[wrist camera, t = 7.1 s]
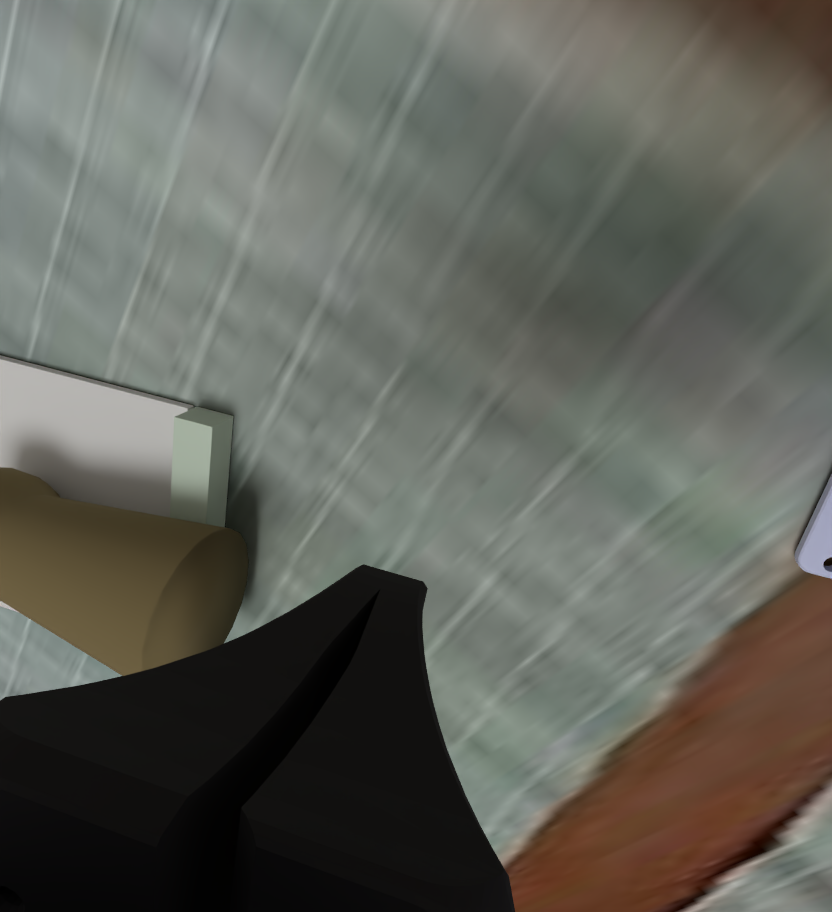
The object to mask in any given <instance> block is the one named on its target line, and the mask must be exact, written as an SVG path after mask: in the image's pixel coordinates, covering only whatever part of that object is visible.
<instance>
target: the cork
mask: <svg viewBox="0 0 832 912" xmlns="http://www.w3.org/2000/svg"><path fill="white" fill-rule="evenodd" d="M248 564H249V559H248V552H247V545H246V543H245V541H244V539H243V538H242V536H241V534H240V533H239V532H237V531H234V530H232V529H229V528H225V527H220V526H214V525H209V524H203V523H198V522H192V521H186V520H181V519H175V518H170V517H164V516H159V515H153V514H148V513H142V512H137V511H131V510H126V509H120V508H115V507H109V506H104V505H98V504H93V503H87V502H81V501H76V500H70V499H65V498H60V496H59V494H58V493H57V492H56V491H55V490H54V489H53V488H52V487H51V486H50V485H49V484H47V483H46V482H45V481H43V480H42V479H41V478H39V477H36V476H34V475H31V474H28V473H25V472H22V471H20V470H17V469H14V468H6V467H0V601H2V602H3V603H5V604H7V605H8V606H10V607H12V608H13V609H15V610H16V611H18V612H20V613H21V614H23V615H25V616H26V617H28V618H29V619H31V620H33V621H34V622H36V623H38V624H39V625H41V626H42V627H44V628H46V629H47V630H49V631H51V632H52V633H54V634H56V635H57V636H59V637H60V638H62V639H64V640H65V641H67V642H69V643H70V644H72V645H73V646H75V647H77V648H78V649H80V650H82V651H83V652H85V653H86V654H88V655H90V656H91V657H93V658H95V659H96V660H98V661H99V662H101V663H103V664H104V665H106V666H108V667H109V668H111V669H112V670H114V671H116V672H117V673H119V674H121V675H122V676H125V675H129V674H133V673H137V672H140V671H144V670H148V669H152V668H155V667H159V666H162V665H165V664H168V663H171V662H174V661H177V660H180V659H183V658H186V657H189V656H192V655H195V654H198V653H201V652H204V651H207V650H209V649H212V648H215V647H217V646H219V645H222V644H224V642H225V640H226V638H227V636H228V634H229V632H230V630H231V629H232V627H233V624H234V621H235V619H236V616H237V614H238V611H239V609H240V606H241V604H242V600H243V596H244V591H245V587H246V583H247V576H248Z"/></svg>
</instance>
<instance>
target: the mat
mask: <svg viewBox="0 0 832 912" xmlns="http://www.w3.org/2000/svg"><path fill="white" fill-rule="evenodd" d="M193 408H194V406H193V405H189V404H185V403H181V402H178V401H174V400H170V399H166V398H162V397H158V396H155V395H151V394H147V393H143V392H139V391H135V390H132V389H128V388H124V387H120V386H116V385H112V384H109V383H105V382H101V381H97V380H93V379H89V378H86V377H82V376H78V375H74V374H70V373H66V372H63V371H59V370H55V369H51V368H47V367H43V366H40V365H36V364H32V363H28V362H24V361H20V360H17V359H13V358H9V357H5V356H1V355H0V467H6V468H14V469H17V470H20V471H22V472H25V473H28V474H31V475H34V476H36V477H39V478H41V479H42V480H43V481H45V482H46V483H47V484H49V485H50V486H51V487H52V488H53V489H54V490H55V491H56V492H57V493H58V494H59V496H60V498H65V499H70V500H76V501H81V502H87V503H93V504H98V505H104V506H109V507H115V508H120V509H126V510H131V511H137V512H142V513H148V514H153V515H159V516H164V517H170V502H171V479H172V456H173V433H174V417H175V416H177V415H180V414H182V413H184V412H186V411H189V410H191V409H193ZM0 606H2V607H5V608H8V609H11V610H14V611H16V610H15V609H13V608H12V607H10V606H8V605H7V604H5V603H3V602H2V601H0ZM17 612H18V611H17Z"/></svg>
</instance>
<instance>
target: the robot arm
mask: <svg viewBox="0 0 832 912" xmlns="http://www.w3.org/2000/svg"><path fill="white" fill-rule="evenodd" d="M830 557H832V474H831V477H830V479H829V481H828V483H827V485H826V487H825V489H824V492H823V494H822V496H821V498H820V500H819V502H818V504H817V506H816V509H815V511H814V513H813V515H812V517H811V519H810V521H809V523H808V526H807V528H806V530H805V532H804V534H803V536H802V538H801V541H800V543H799V545H798V547H797V549H796V552H795V560H796V562H797V564H798V565H799V566H800V567H801V568H802V570H804V571H806V572H808V573H811V574H815V575H819V576H823V577H827V578H830V579H832V565H830V566H824V565H823V564H824V561H825V560H826V559H828V558H830ZM426 593H427V587H426V585H425V584H424V582H423V581H419V580H416V579H412V578H409V577H405V576H402V575H398V574H395V573H391V572H388V571H384V570H381V569H377V568H374V567H370V566H367V565H361V566H359V567H357V568H356V569H354V570H353V571H351V572H350V573H348V574H347V575H345V576H344V577H343V578H341V579H340V580H338V581H337V582H335V583H334V584H332V585H331V586H329V587H328V588H326V589H325V590H323V591H322V592H320V593H319V594H317V595H315V596H314V597H312V598H310V599H309V600H307V601H306V602H304V603H302V604H301V605H299V606H297V607H296V608H294V609H292V610H291V611H289V612H287V613H285V614H284V615H282V616H280V617H278V618H276V619H274V620H272V621H271V622H269V623H267V624H265V625H263V626H261V627H259V628H258V629H256V630H254V631H251V632H249V633H247V634H245V635H243V636H241V637H239V638H236V639H234V640H232V641H229V642H227V643H224V644H222V645H219V646H217V647H215V648H212V649H209V650H207V651H204V652H201V653H198V654H195V655H192V656H189V657H186V658H183V659H180V660H177V661H174V662H171V663H168V664H165V665H162V666H159V667H155V668H152V669H148V670H144V671H140V672H137V673H133V674H129V675H125V676H121V677H117V678H112V679H108V680H103V681H99V682H94V683H89V684H84V685H80V686H74V687H68V688H62V689H55V690H49V691H43V692H37V693H31V694H25V695H18V696H10V697H5V698H3V699H2V700H1V701H0V912H515V909H514V903H513V897H512V892H511V886H510V881H509V876H508V874H507V873H506V871H505V869H504V868H503V866H502V864H501V862H500V861H499V859H498V857H497V856H496V854H495V852H494V850H493V849H492V847H491V845H490V843H489V841H488V839H487V837H486V836H485V834H484V832H483V830H482V828H481V826H480V824H479V822H478V820H477V818H476V816H475V814H474V812H473V810H472V808H471V806H470V804H469V802H468V799H467V797H466V795H465V793H464V790H463V788H462V785H461V783H460V781H459V778H458V776H457V773H456V771H455V768H454V766H453V763H452V761H451V758H450V756H449V753H448V751H447V748H446V745H445V742H444V738H443V735H442V732H441V729H440V726H439V722H438V719H437V715H436V712H435V708H434V704H433V700H432V695H431V691H430V686H429V680H428V675H427V669H426V662H425V655H424V644H423V631H422V613H423V606H424V602H425V597H426Z"/></svg>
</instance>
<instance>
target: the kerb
mask: <svg viewBox="0 0 832 912" xmlns="http://www.w3.org/2000/svg"><path fill="white" fill-rule="evenodd" d="M233 417H234V416H231V415H227V414H224V413H220V412H216V411H212V410H208V409H204V408H201V407H195V408H193V409H191V410H189V411H186V412H184V413H182V414H180V415H177V416H175V417H174V433H173V456H172V479H171V502H170V518H175V519H181V520H186V521H192V522H198V523H203V524H209V525H214V526H220V527H225V516H226V504H227V492H228V479H229V467H230V454H231V442H232V429H233Z"/></svg>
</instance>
